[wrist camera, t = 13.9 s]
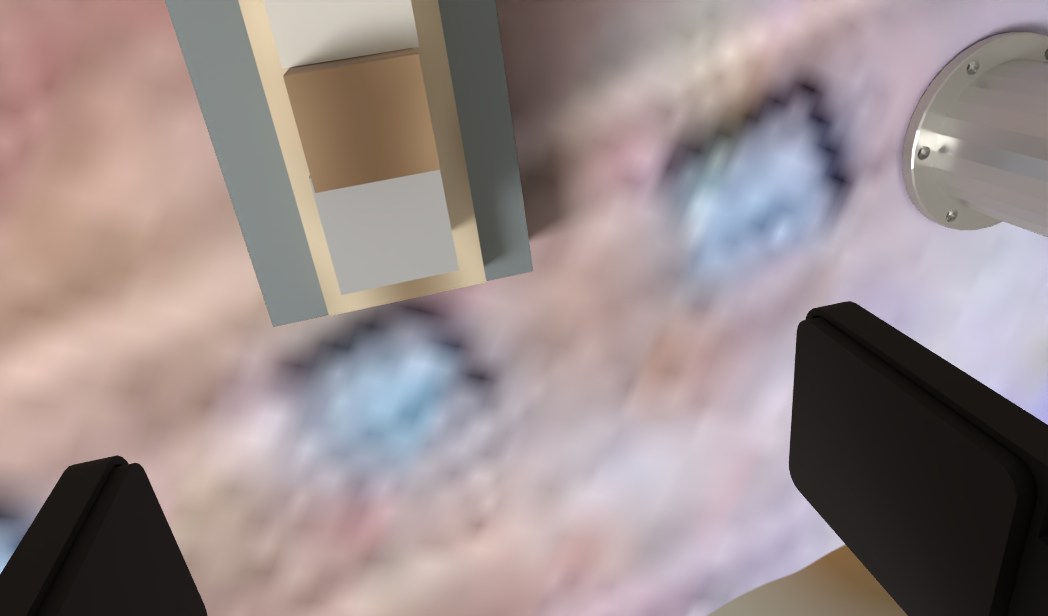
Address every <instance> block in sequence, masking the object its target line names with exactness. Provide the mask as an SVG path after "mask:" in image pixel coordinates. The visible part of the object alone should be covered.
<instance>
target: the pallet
mask: <svg viewBox="0 0 1048 616" xmlns="http://www.w3.org/2000/svg"><path fill="white" fill-rule="evenodd" d="M238 2H239V5H240V9H241V12H242V16H243V19H244V23H245V26H246V30H247V33H248V36H249V40H250V43H251V47H252V50H253V54H254V57H255V61H256V64H257V68H258V71H259V75H260V78H261V82H262V85H263V89H264V92H265V95H266V99H267V102H268V106H269V109H270V113H271V116H272V120H273V123H274V127H275V130H276V134H277V137H278V141H279V144H280V148H281V151H282V154H283V158H284V161H285V165H286V168H287V172H288V175H289V179H290V182H291V186H292V189H293V193H294V196H295V200H296V203H297V206H298V210H299V213H300V217H301V220H302V224H303V227H304V231H305V234H306V238H307V241H308V245H309V248H310V252H311V255H312V259H313V262H314V265H315V269H316V272H317V276H318V279H319V283H320V286H321V290H322V293H323V297H324V300H325V304H326V307H327V311H328V314H329V316H332V315H336V314H341V313H346V312H350V311H355V310H360V309H364V308H369V307H374V306H378V305H383V304H388V303H392V302H397V301H402V300H407V299H411V298H416V297H421V296H425V295H430V294H435V293H439V292H444V291H449V290H453V289H458V288H463V287H467V286H472V285H477V284H481V283H486V277H485V271H484V265H483V260H482V254H481V248H480V242H479V236H478V231H477V225H476V219H475V213H474V207H473V202H472V196H471V190H470V184H469V178H468V173H467V167H466V161H465V155H464V149H463V144H462V138H461V132H460V126H459V120H458V115H457V109H456V103H455V97H454V91H453V86H452V80H451V74H450V68H449V62H448V57H447V51H446V45H445V39H444V33H443V28H442V22H441V16H440V10H439V4H438V0H411V4H412V9H413V15H414V20H415V25H416V31H417V36H418V42H419V47H415V48H409V49H402V50H396V51H390V52H384V53H377V54H371V55H365V56H358V57H352V58H346V59H340V60H333V61H327V62H321V63H315V64H308V65H302V66H296V67H289V68H283V69H282V67H281V64H280V60H279V56H278V53H277V49H276V45H275V41H274V38H273V34H272V30H271V27H270V23H269V19H268V16H267V12H266V8H265V5H264V1H263V0H238ZM436 170H440V173H441V178H442V183H443V189H444V194H445V199H446V204H447V209H448V215H449V220H450V225H451V230H452V235H453V240H454V246H455V251H456V256H457V261H458V266H459V270H458V271H453V272H448V273H444V274H439V275H434V276H429V277H425V278H420V279H415V280H411V281H406V282H401V283H397V284H392V285H387V286H382V287H378V288H373V289H368V290H364V291H359V292H354V293H350V294H345V295H341V292H340V288H339V285H338V281H337V277H336V274H335V270H334V267H333V263H332V259H331V256H330V252H329V249H328V245H327V241H326V238H325V234H324V231H323V227H322V224H321V220H320V216H319V213H318V209H317V206H316V202H315V198H314V195H313V191H312V188H311V184H310V180H309V176H311V180H312V184H313V187H314V191H315V193H319V192H324V191H329V190H335V189H340V188H345V187H351V186H356V185H361V184H367V183H372V182H377V181H383V180H388V179H393V178H398V177H404V176H409V175H414V174H420V173H425V172H430V171H436Z"/></svg>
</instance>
